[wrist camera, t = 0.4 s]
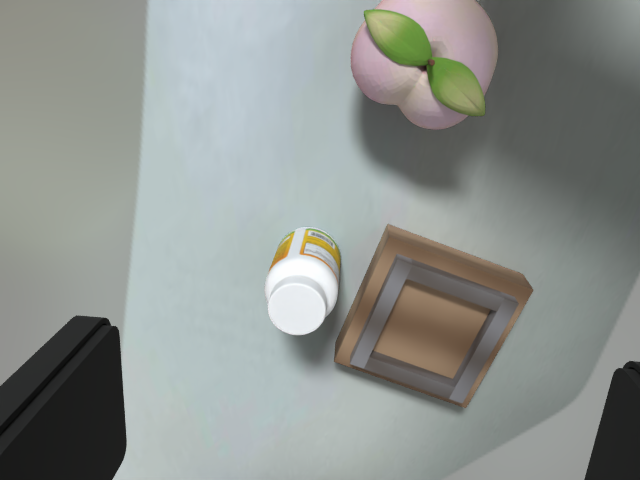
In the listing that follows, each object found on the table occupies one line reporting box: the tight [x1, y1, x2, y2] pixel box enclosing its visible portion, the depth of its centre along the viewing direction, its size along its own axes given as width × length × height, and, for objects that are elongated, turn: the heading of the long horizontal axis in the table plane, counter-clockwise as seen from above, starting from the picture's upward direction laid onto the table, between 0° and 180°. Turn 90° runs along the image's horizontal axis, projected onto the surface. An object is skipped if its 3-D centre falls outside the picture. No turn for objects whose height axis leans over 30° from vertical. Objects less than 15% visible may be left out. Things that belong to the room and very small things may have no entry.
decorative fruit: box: [351, 0, 498, 130], centre depth 35 cm, size 9×8×10 cm
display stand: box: [334, 224, 533, 408], centre depth 45 cm, size 12×12×4 cm
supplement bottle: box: [264, 227, 341, 335], centre depth 41 cm, size 5×5×10 cm
